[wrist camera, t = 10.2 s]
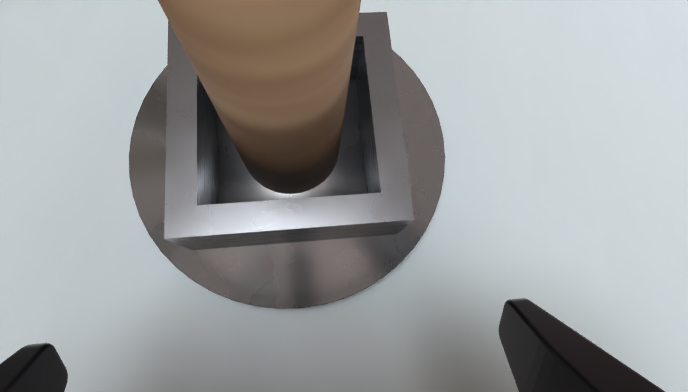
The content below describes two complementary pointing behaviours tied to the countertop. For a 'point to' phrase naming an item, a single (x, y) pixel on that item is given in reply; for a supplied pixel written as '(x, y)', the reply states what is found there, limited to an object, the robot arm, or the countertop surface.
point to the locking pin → (274, 79)
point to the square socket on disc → (290, 209)
